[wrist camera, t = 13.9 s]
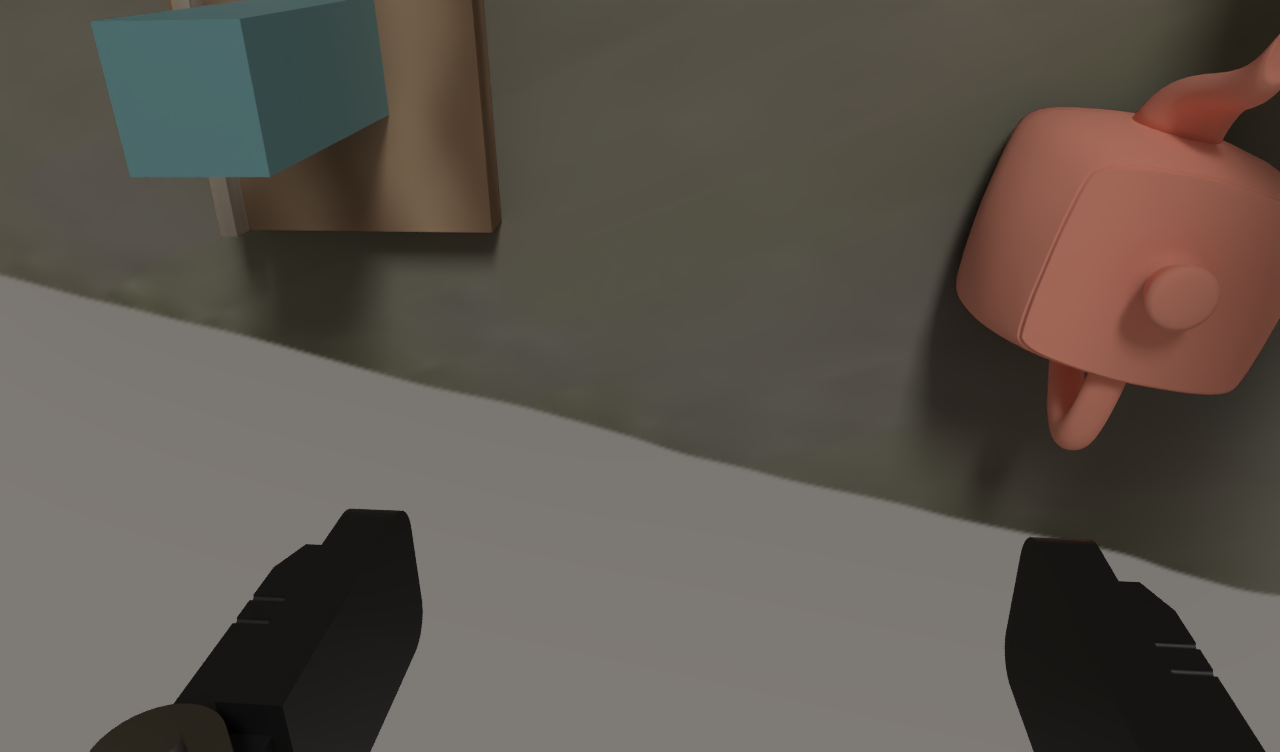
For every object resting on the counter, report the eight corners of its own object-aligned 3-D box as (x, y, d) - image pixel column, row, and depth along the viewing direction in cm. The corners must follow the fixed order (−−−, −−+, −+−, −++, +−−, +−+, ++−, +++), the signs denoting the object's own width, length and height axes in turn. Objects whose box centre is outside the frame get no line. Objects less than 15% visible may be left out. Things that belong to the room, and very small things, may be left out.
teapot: (909, 348, 47) (952, 452, 38) (1055, -32, 39) (1155, -21, 30) (1129, 402, 47) (1226, 518, 38) (1319, 32, 39) (1501, 64, 30)
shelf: (471, -151, 39) (450, -158, 36) (501, 220, 46) (485, 240, 43) (177, -143, 41) (134, -149, 38) (249, 218, 47) (217, 236, 44)
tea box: (373, -5, 40) (239, 19, 29) (389, 114, 42) (270, 177, 32) (260, -3, 41) (88, 21, 30) (282, 115, 43) (128, 176, 32)
